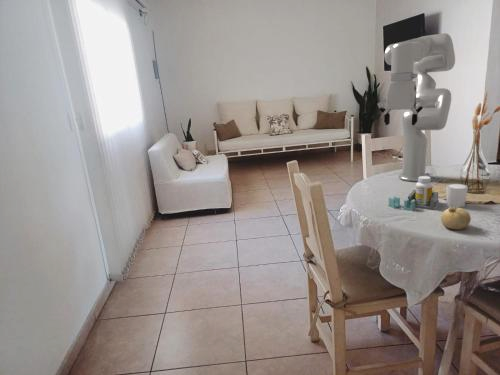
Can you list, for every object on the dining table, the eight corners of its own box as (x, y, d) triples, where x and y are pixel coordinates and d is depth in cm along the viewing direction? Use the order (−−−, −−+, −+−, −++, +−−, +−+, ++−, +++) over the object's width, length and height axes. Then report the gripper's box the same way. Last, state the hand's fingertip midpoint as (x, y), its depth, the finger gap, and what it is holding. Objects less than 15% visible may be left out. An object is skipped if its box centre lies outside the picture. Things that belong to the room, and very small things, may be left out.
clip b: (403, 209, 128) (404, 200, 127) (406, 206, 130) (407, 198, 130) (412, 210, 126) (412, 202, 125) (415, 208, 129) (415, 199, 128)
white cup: (464, 201, 130) (465, 183, 128) (468, 208, 124) (470, 189, 122) (443, 201, 133) (444, 183, 131) (446, 207, 127) (447, 188, 125)
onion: (445, 220, 116) (446, 200, 114) (472, 225, 111) (474, 204, 109) (437, 229, 111) (438, 207, 109) (465, 234, 106) (467, 212, 104)
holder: (412, 198, 138) (413, 189, 136) (438, 201, 132) (439, 192, 131) (406, 206, 131) (406, 196, 130) (433, 209, 125) (434, 199, 124)
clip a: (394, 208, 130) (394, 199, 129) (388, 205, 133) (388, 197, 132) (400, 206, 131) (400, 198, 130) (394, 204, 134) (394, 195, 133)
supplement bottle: (429, 200, 132) (431, 175, 130) (432, 205, 127) (434, 179, 125) (413, 200, 134) (415, 175, 131) (416, 205, 129) (417, 179, 126)
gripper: (429, 75, 129) (427, 123, 134) (381, 79, 139) (380, 123, 144) (425, 76, 123) (422, 126, 128) (375, 80, 133) (374, 126, 138)
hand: (400, 124), depth 136 cm, fingers open, 9 cm apart
